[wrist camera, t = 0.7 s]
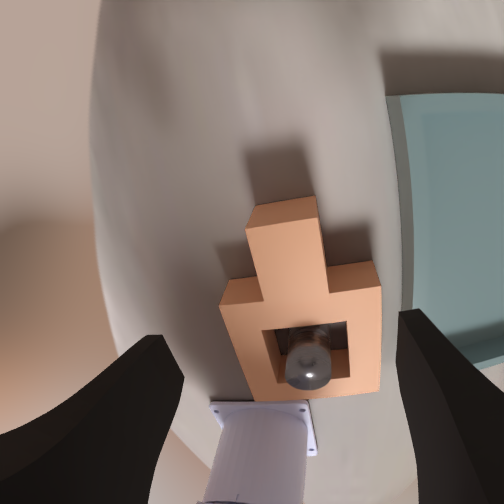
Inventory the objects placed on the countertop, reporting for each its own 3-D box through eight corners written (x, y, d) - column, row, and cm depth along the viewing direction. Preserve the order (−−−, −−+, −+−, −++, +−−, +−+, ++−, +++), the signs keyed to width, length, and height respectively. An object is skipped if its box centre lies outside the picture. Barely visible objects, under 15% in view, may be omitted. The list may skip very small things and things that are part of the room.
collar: (374, 363, 19) (379, 397, 17) (260, 374, 21) (253, 407, 19) (365, 187, 14) (378, 208, 12) (209, 214, 16) (190, 238, 14)
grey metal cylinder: (331, 339, 19) (333, 388, 15) (293, 343, 20) (288, 391, 16) (327, 309, 18) (329, 358, 14) (287, 313, 19) (281, 362, 15)
